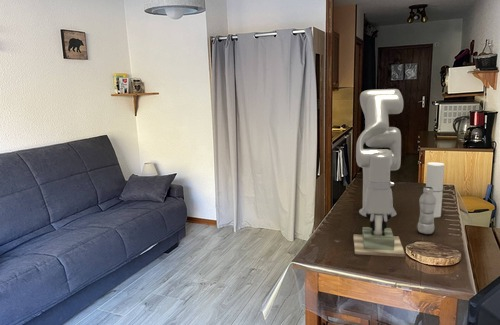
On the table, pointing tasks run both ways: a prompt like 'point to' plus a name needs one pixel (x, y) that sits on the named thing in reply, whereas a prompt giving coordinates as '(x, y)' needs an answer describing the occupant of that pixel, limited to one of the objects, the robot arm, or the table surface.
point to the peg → (378, 224)
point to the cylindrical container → (436, 183)
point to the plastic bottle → (427, 211)
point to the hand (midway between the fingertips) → (378, 229)
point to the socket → (378, 243)
